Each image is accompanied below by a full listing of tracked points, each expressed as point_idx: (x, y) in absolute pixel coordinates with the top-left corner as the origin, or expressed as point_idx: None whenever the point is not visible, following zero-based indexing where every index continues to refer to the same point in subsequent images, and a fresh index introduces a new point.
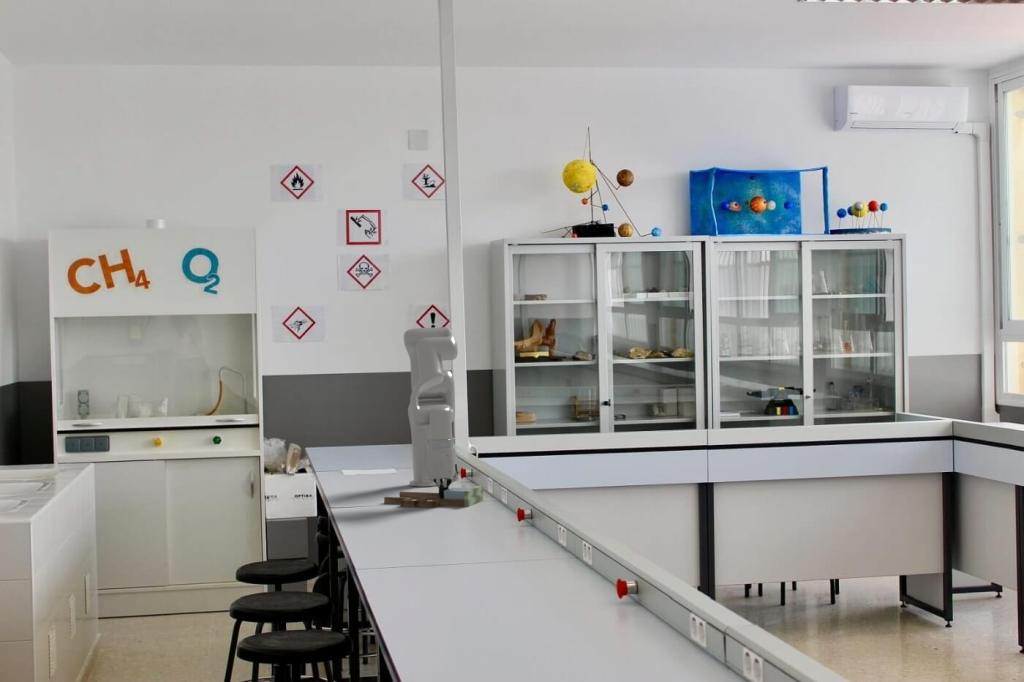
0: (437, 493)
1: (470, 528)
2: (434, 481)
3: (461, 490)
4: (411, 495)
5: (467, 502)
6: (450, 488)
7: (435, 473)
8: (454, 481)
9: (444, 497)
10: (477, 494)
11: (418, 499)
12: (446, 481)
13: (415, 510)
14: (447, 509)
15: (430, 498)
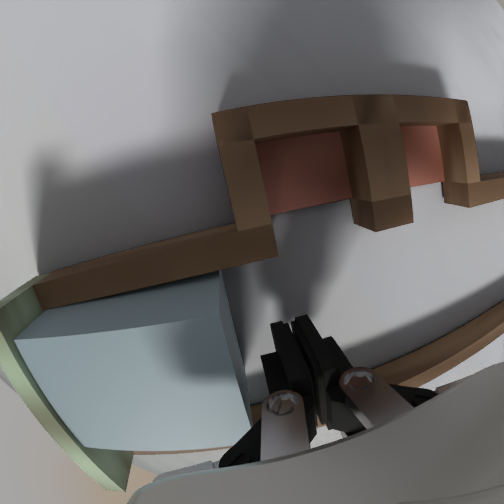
0: None
1: None
2: (424, 392)
3: (69, 373)
4: (492, 318)
5: (24, 284)
6: (242, 414)
7: (452, 453)
8: (178, 469)
9: (215, 283)
10: None
11: (406, 164)
12: (264, 446)
13: (293, 33)
14: (94, 153)
15: (415, 353)
